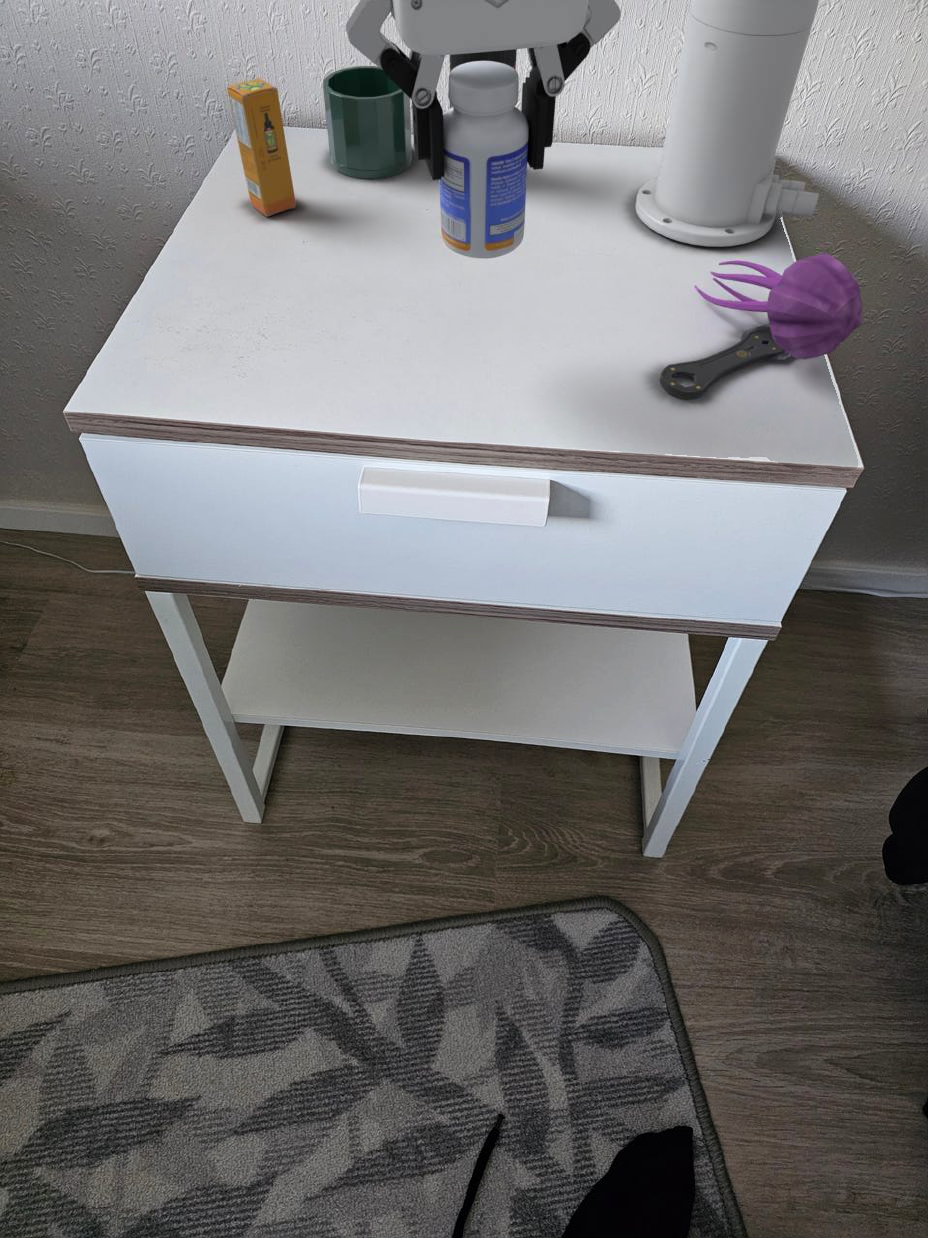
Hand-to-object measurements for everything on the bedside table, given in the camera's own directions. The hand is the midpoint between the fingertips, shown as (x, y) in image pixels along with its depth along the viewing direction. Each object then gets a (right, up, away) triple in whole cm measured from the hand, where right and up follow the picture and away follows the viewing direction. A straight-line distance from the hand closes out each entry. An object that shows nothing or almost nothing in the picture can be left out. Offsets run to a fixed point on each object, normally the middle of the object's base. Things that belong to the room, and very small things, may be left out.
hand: (482, 161), depth 51 cm
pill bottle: (0, -3, +4) cm, 5 cm away
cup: (-10, +18, +33) cm, 39 cm away
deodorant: (0, +16, +31) cm, 35 cm away
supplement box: (-19, +10, +26) cm, 34 cm away
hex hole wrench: (+22, -7, +13) cm, 26 cm away
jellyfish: (+19, 0, +17) cm, 25 cm away
